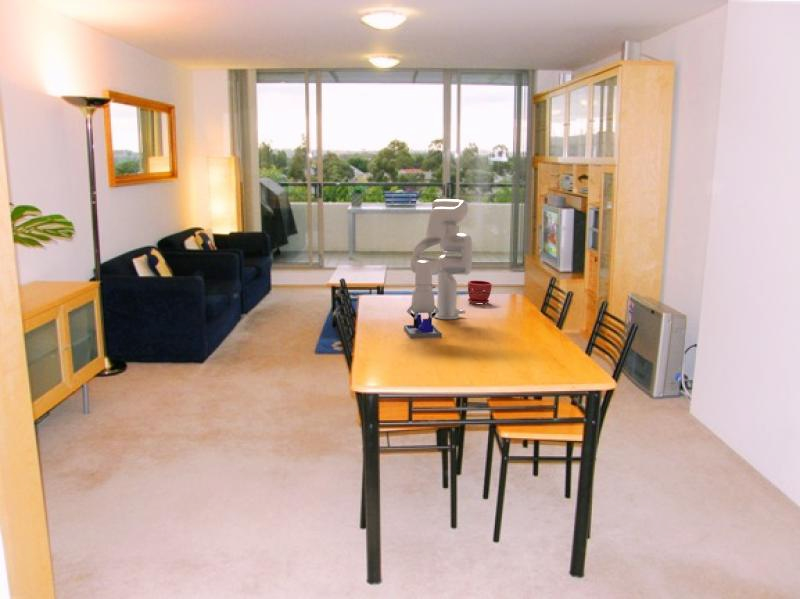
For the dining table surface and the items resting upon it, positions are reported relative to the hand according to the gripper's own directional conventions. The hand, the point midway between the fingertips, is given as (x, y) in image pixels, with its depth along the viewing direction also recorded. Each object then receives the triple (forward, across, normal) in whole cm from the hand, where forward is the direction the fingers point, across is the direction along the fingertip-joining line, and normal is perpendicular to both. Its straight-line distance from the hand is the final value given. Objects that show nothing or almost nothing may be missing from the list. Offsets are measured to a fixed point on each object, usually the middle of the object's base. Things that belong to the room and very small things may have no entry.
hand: (422, 326), depth 327 cm
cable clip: (+1, 0, 0) cm, 2 cm away
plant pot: (+4, -46, -70) cm, 84 cm away
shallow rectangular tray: (+3, 0, 0) cm, 3 cm away
